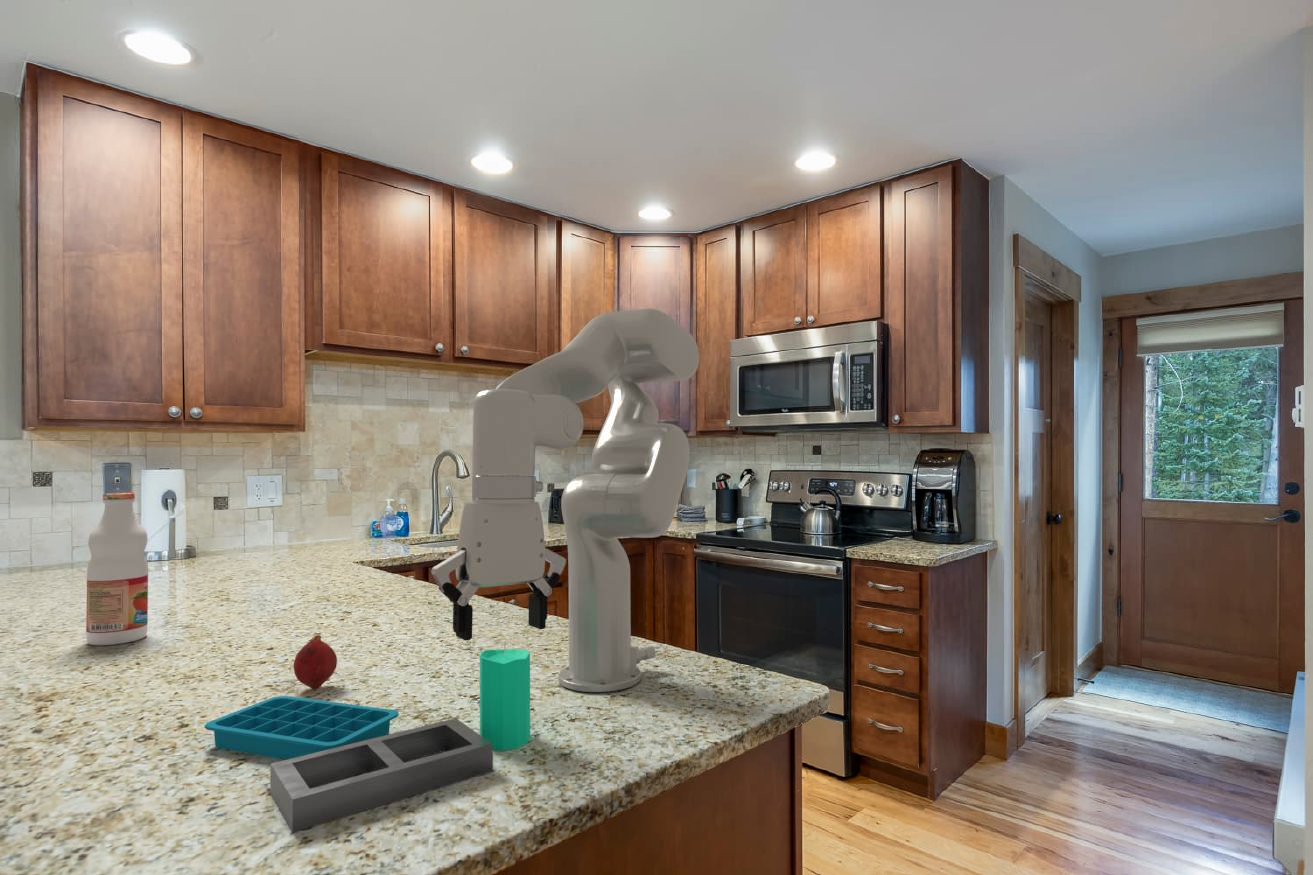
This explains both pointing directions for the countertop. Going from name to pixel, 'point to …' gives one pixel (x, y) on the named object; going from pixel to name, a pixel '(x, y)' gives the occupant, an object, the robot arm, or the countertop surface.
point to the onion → (315, 663)
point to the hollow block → (377, 772)
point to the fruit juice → (117, 575)
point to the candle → (505, 697)
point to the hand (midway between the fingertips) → (501, 632)
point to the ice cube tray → (298, 726)
